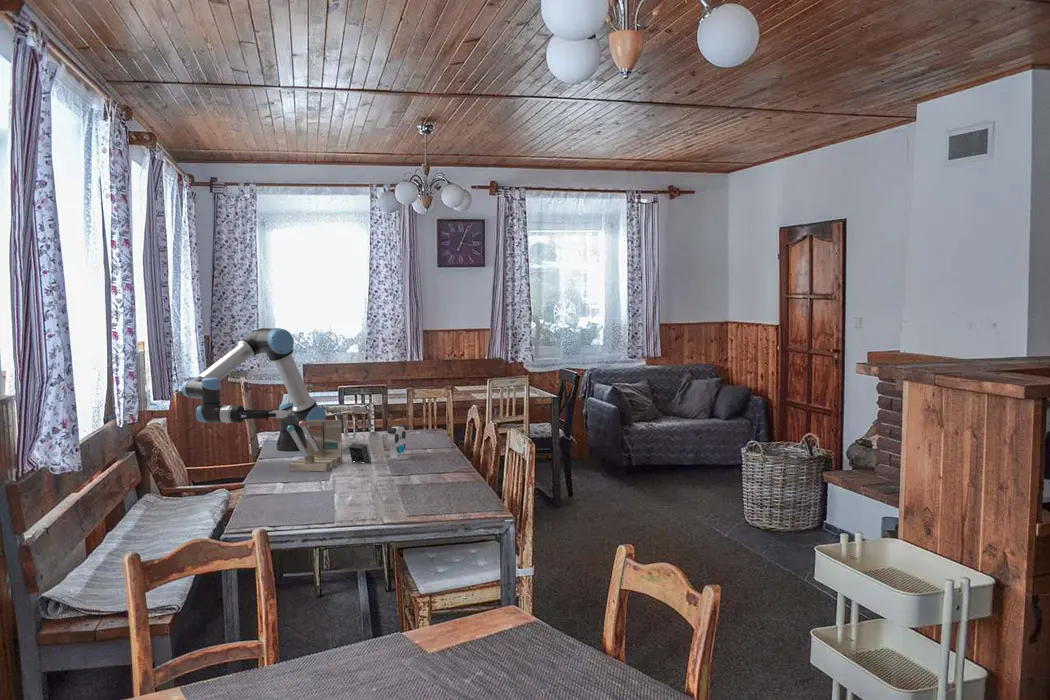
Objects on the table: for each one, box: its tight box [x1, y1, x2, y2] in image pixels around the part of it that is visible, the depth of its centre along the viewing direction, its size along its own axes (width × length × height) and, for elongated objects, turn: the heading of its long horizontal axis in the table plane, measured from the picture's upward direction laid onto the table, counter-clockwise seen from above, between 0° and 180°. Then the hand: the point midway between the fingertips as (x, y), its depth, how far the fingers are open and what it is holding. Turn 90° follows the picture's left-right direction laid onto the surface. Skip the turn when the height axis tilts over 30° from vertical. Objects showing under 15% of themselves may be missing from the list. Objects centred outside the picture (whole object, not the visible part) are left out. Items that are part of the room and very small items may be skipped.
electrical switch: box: [348, 441, 372, 464], centre depth 371 cm, size 9×5×9 cm, turn 57°
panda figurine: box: [386, 424, 407, 458], centre depth 381 cm, size 12×11×15 cm
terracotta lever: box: [299, 421, 321, 452], centre depth 370 cm, size 3×3×17 cm
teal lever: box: [287, 425, 310, 458], centre depth 356 cm, size 3×3×17 cm
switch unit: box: [288, 419, 343, 472], centre depth 363 cm, size 23×16×19 cm
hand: (285, 414), depth 356 cm, fingers open, 3 cm apart
